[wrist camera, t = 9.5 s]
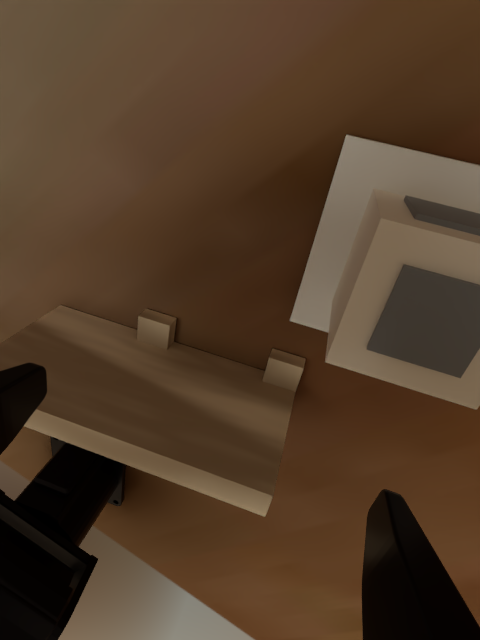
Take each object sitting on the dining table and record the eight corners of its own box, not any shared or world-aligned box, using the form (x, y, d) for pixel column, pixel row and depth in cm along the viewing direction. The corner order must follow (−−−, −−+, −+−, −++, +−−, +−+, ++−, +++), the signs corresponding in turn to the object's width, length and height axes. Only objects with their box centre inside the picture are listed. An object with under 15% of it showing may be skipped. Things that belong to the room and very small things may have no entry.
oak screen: (284, 419, 24) (256, 538, 17) (63, 344, 26) (-39, 424, 20) (305, 358, 22) (283, 469, 15) (58, 281, 24) (-60, 347, 17)
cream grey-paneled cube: (444, 333, 18) (478, 413, 13) (332, 300, 19) (324, 365, 14) (511, 216, 15) (584, 264, 10) (374, 183, 16) (384, 212, 11)
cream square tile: (460, 364, 19) (464, 373, 19) (291, 314, 21) (289, 320, 20) (572, 186, 15) (582, 189, 14) (346, 134, 16) (346, 135, 15)
